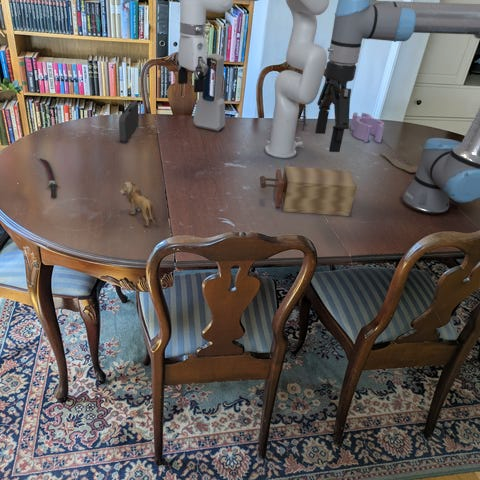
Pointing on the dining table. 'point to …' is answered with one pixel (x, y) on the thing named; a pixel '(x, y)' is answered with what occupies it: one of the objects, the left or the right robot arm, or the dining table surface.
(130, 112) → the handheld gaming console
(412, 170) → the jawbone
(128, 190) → the lion figurine
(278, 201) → the drawer
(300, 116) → the miniature windmill
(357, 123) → the clip
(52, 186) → the sword
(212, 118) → the electronic device
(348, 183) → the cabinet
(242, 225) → the dining table surface
